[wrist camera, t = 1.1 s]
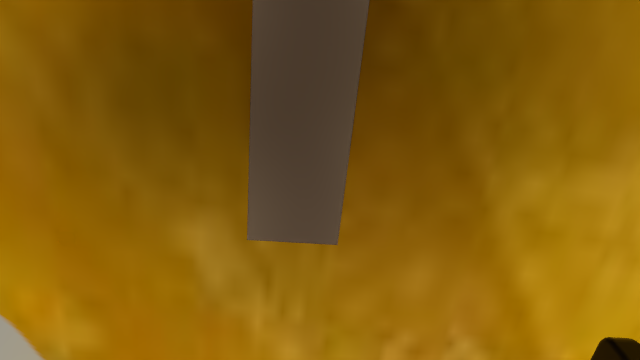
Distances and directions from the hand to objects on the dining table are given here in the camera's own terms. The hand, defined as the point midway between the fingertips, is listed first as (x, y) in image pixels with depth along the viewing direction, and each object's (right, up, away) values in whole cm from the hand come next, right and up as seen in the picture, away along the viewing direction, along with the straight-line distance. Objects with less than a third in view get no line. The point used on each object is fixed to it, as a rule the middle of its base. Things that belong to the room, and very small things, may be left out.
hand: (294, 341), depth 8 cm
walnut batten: (0, +12, +6) cm, 14 cm away
